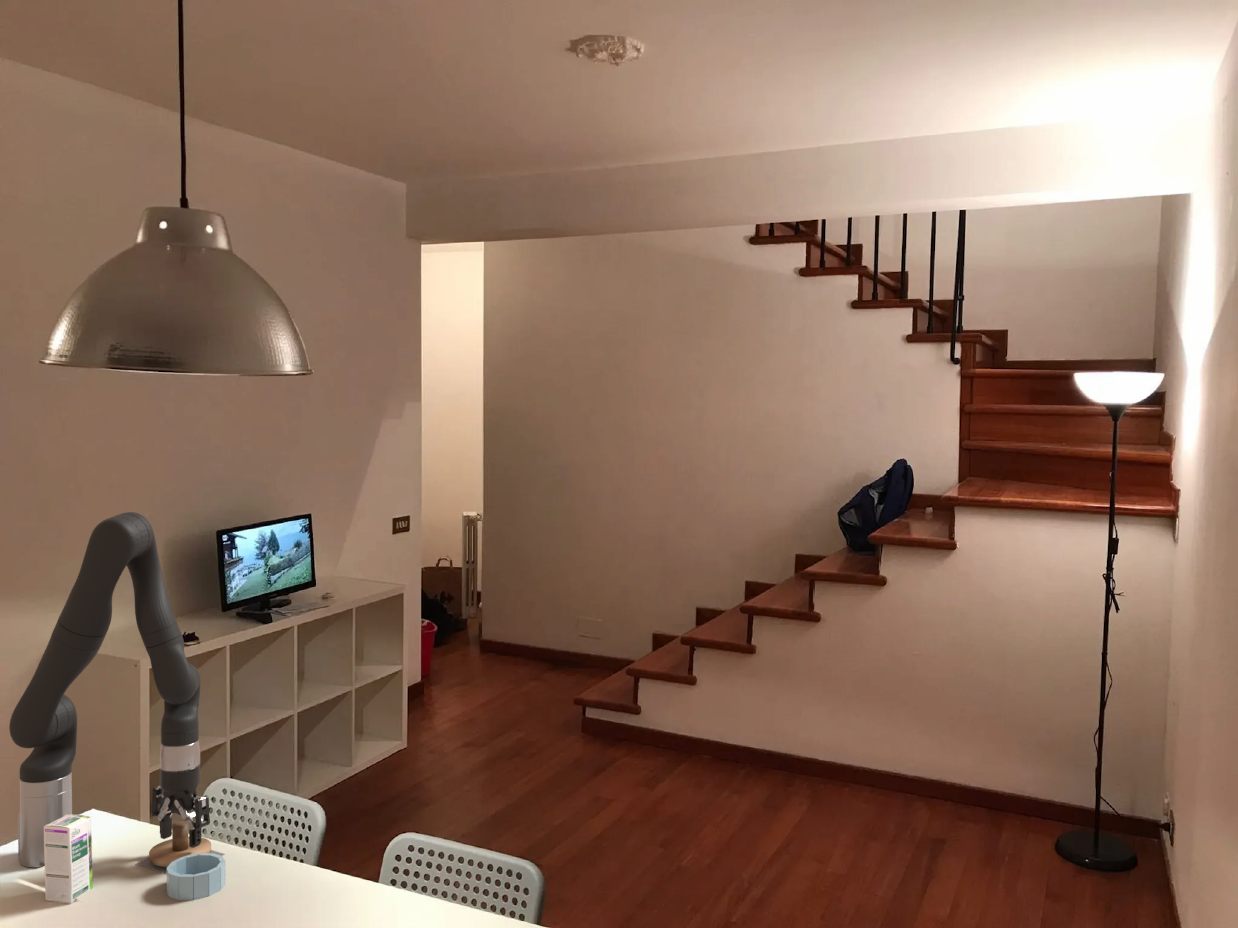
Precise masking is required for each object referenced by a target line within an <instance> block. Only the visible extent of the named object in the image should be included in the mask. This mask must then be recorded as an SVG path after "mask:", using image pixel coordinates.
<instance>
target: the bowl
mask: <svg viewBox="0 0 1238 928" xmlns="http://www.w3.org/2000/svg"><path fill="white" fill-rule="evenodd" d="M225 886H226V860H225V858H224V855H223V856H220V855H217V854H214V853H198V854H193V855H188V856H184V857H182V858H179V859H177V860H175V861H173V862H171V864H170V865H169V866H168V867H167V874H166V894H167V897H169V898H171V899H173V900H178V901H195V900H200V899H204V898H209V897H211V896H213V895H215V894H216V893H219V892H221V890H222V889H223V888H224V887H225Z"/></svg>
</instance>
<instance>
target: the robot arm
mask: <svg viewBox="0 0 1238 928" xmlns="http://www.w3.org/2000/svg"><path fill="white" fill-rule="evenodd" d="M125 568H127V569H128V573H129V574H130V577H131V582H132V587H133V594H134V595H133V596H134V615H135V620H136V625H137V628H138V632H139V635H140V637H141V640H142V643H143V645H144V648H145V651H146V653H147V655H148V657H149V660H150V666H151V670H152V674H153V678H154V679H153V680H154V683H155V686H156V690H157V691H158V694H159V695H160V697H161V699H163V701H164V707H163V709H164V710H163V715H162V717H161V725H160V727H161V728H160V752H159V785H158V786H155V787H153V788H152V791H151V792H152V793H151V796H152V797H151V815H152V816H153V817H155V816H156V817H157V820H158V822H159V835H160V836H159V837H160V839H162V840H166V839H168V838H170V837H172V825H173V822H172V821H173V818H172V816H173V814H178V815H179V816H180V817H181V818H182V819H183V820H182V821H186V822H187V823H188V837H189V847H192V848H194V847H196V846H199V845H200V843H201V838H202V828H204V827H206V826H208V825H209V826H210V822H211V821H210V801H209V800H210V799H209V798H210V797H209V795H207V794H205V795H203V796H201V795H200V796H199V795H198V792H197V788H198V787H199V785H200V784H201V747H200V740H199V739H200V737H199V735H200V734H199V731H200V730H199V705H200V693H201V675H200V671H199V670H198V668H196V666H194V665H193V664H191V663H190V662H188V659H187V657H186V654H185V641H184V638H183V637H184V636H183V635H182V631H181V629H180V626H179V624H178V621H177V618H176V616H175V613H174V611H173V608H172V605H171V602H170V598H169V596H168V592H167V591H168V590H167V589H166V585H165V581H164V580H165V579H164V575H163V571H162V567H161V562H160V557H159V552H158V546H157V541H156V537H155V532H154V528H153V526H152V524H151V522H150V521H149V520H148V519H147V517H145V516H144V515H143V514H140V513H138V512H133V511H126V512H122V513H119V514H115V515H114V516H111V517H108V518H106V519H104V520H102V521H101V522H99V523H98V524H97V525H96V526H95V527H94V528H93V530H92V532H91V535H90V537H89V540H88V543H87V546H86V550H85V554H84V556H83V559H82V563H81V567H80V570H79V572H78V575H77V578H76V580H75V582H74V583H73V587H72V588H71V590H70V593H69V595H68V597H67V599H66V601H65V604H64V605H63V609H62V610H61V612H60V613H59V617H58V619H57V621H56V623H55V625H54V628H53V630H52V632H51V635H50V638H49V641H48V643H47V645H46V647H45V649H44V652H43V653H42V657H41V659H40V660H39V663H38V665H37V667H36V669H35V671H34V674H33V676H32V678H31V680H30V682H29V684H28V685H27V687H26V689H25V690H24V692H23V694H22V695H21V697H20V699H19V700H18V702H17V704H16V705H15V707H14V710H13V711H12V714H11V717H10V720H9V729H8V730H9V734H10V735H9V736H10V738H11V740H12V742H13V743H14V744H15V745H16V746H18V747H19V748H23V749H32V751H31V753H30V754H29V755H28V756H27V758H25V759H24V760H23V762H21V764H20V766H19V812H18V813H17V843H18V846H17V849H18V853H17V854H18V855H17V856H18V859H19V860H20V861H19V862H20V864H21V865H22V866H23V867H27V868H44V867H45V860H44V859H45V858H44V826H45V825H47V824H50V823H52V822H54V821H56V820H58V819H60V818H62V817H64V816H65V815H66V814H67V815H73V796H72V795H73V787H72V783H73V782H72V781H73V780H72V779H73V777H72V776H73V774H72V771H73V769H72V765H73V763H74V761H75V758H76V753H77V741H78V739H77V737H78V713H77V709H76V706H75V704H74V702H73V701H72V699H71V698H70V697H68V696H67V695H66V694H65V693H66V692H67V690H68V688H69V687H70V686H71V684H73V682H74V681H75V680H76V679H77V678H78V677H79V676H80V675H81V674H82V672H83V671H84V670H85V669H86V668H87V667H88V666H89V665H90V663H91V662H92V661H93V660H94V658H95V657H96V655H97V654H98V652H99V650H100V648H101V647H102V645H103V642H104V640H105V638H106V635H107V633H108V631H109V628H110V625H111V622H112V616H113V595H114V592H115V588H116V586H117V583H118V582H119V580H120V578H121V575H122V574H123V572H124V571H125ZM158 805H159V807H158ZM191 811H193V812H191ZM190 812H191V813H190ZM202 817H203V818H202ZM193 818H194V819H195V821H194V820H193Z"/></svg>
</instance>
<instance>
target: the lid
mask: <svg viewBox="0 0 1238 928" xmlns="http://www.w3.org/2000/svg"><path fill="white" fill-rule="evenodd" d="M171 837H172V838H170V839H167V840H164V841H161V842H159V843H157V844H155V845H154V846H152V847H151V848H150V850H149V852H148V858H149V861H150V862H151V863H152V864H154V865H157V866H163V867H168V866H169V865H170V864H171V862H173V861H175V860H177V859H179V858H182V857H184V856H188V855H193V854H198V853H210V852H211V850H212V843H211V840H210V839H207V838H205V837H201V843H200V845H199V846H196V847H194V848H192V847H189V825H188V823H187V821H184V820H181V821H177V822H174V823H172V835H171Z"/></svg>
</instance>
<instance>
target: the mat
mask: <svg viewBox="0 0 1238 928" xmlns="http://www.w3.org/2000/svg"><path fill="white" fill-rule="evenodd" d="M210 853H214V854H217V855H220V856H223V857H224V856H225V854H226V853H223V852H219V851H216V850H212V849H211V852H210ZM134 865H135V866H139V867H142V868H145V869H148V870H151V871H153V872H157V873H160V874H164V875H167V867H163V866H157V865H154V864H152V863H151V862H150V861H149V857H148V858H145V859H143V860H141V861H138V862H136V863H134Z"/></svg>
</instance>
